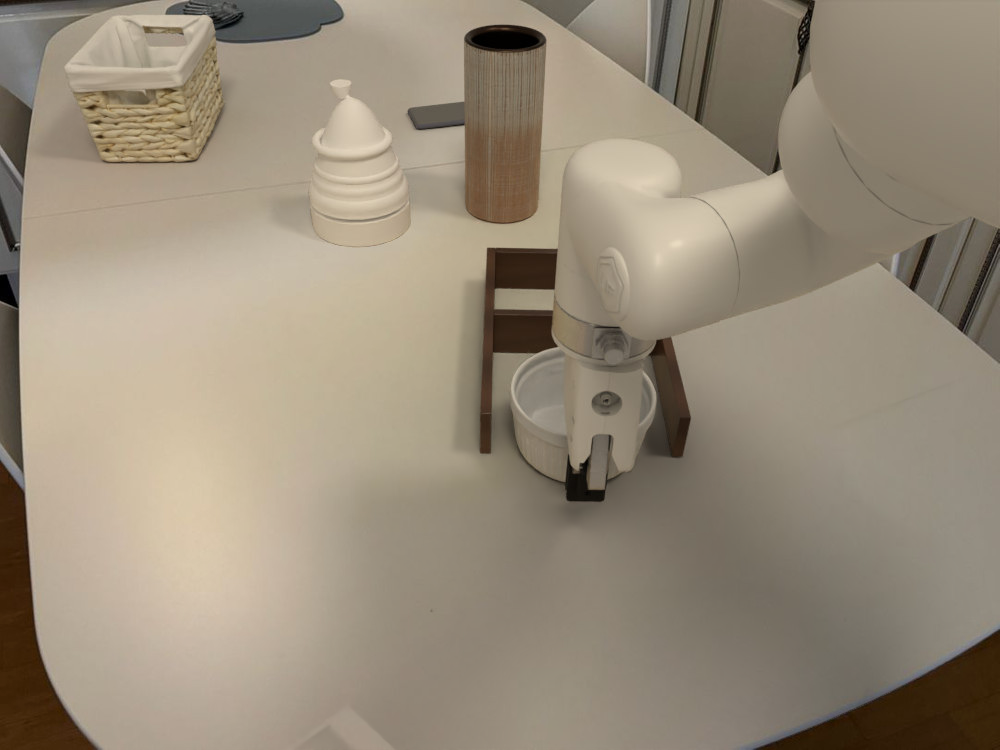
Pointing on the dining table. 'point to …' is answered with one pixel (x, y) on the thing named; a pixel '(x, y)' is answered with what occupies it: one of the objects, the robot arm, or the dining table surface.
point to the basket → (148, 88)
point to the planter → (503, 121)
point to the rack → (535, 335)
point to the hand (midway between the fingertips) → (584, 494)
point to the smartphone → (438, 115)
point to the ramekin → (555, 413)
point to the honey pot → (357, 177)
